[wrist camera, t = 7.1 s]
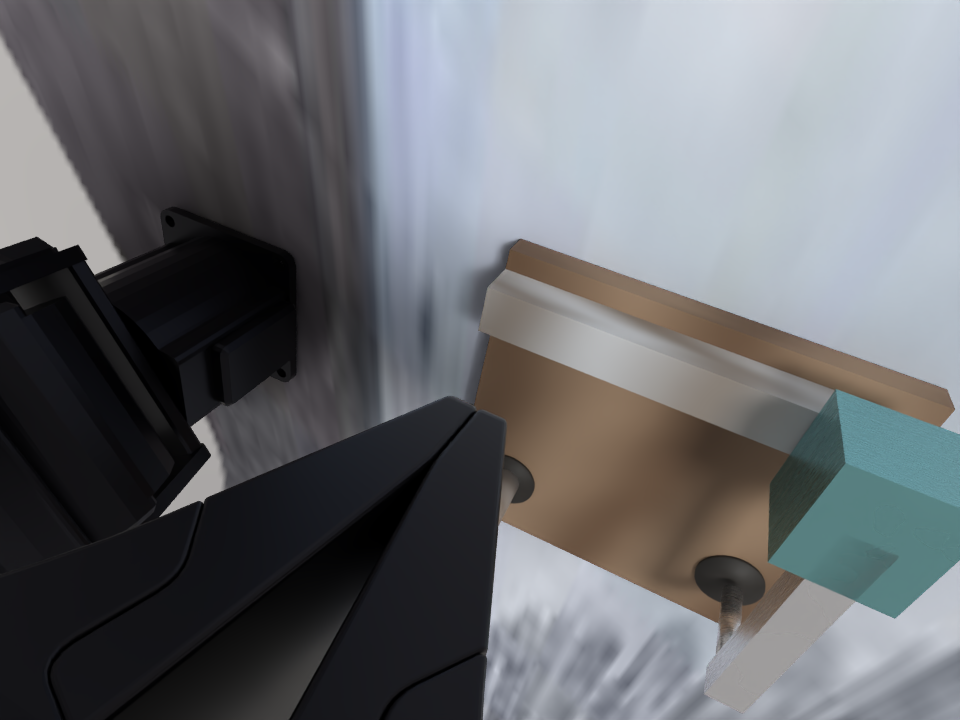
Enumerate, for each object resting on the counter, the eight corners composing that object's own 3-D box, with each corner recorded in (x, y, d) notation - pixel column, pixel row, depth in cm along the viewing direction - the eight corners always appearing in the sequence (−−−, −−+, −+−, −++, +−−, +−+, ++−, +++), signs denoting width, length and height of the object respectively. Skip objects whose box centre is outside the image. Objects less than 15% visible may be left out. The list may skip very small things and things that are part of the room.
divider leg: (688, 578, 22) (671, 685, 19) (832, 363, 16) (845, 462, 13) (770, 616, 21) (767, 734, 18) (952, 406, 15) (999, 524, 12)
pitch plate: (462, 482, 27) (413, 558, 23) (520, 238, 20) (463, 294, 16) (754, 618, 24) (749, 728, 20) (947, 389, 17) (991, 498, 13)
